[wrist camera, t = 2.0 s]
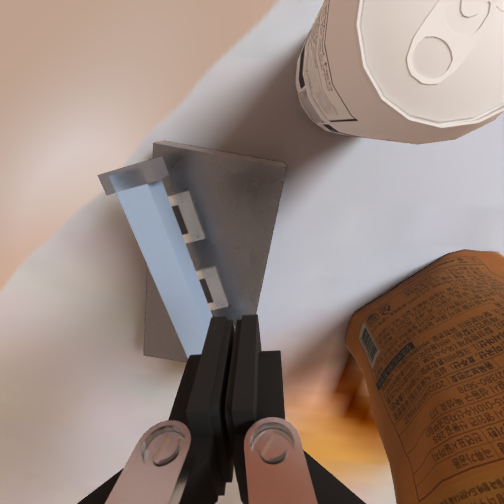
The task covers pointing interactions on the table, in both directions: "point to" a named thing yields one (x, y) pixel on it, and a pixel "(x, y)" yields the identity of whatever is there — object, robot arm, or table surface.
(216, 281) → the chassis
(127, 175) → the bar
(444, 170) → the table surface
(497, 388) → the pancake mix bag
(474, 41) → the supplement can
